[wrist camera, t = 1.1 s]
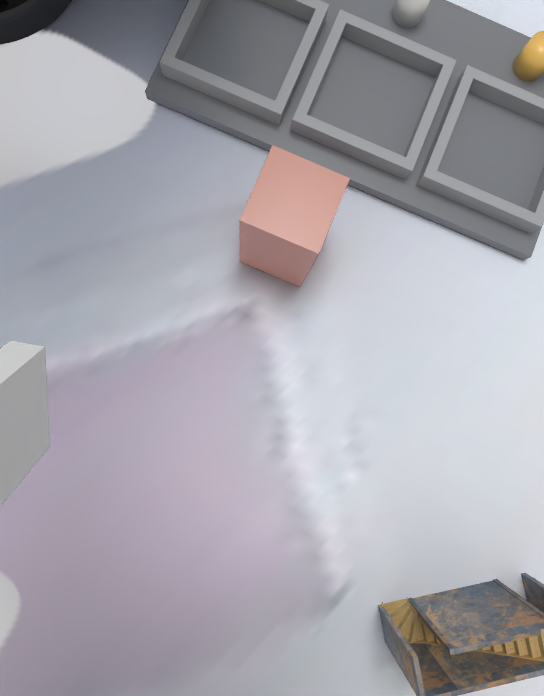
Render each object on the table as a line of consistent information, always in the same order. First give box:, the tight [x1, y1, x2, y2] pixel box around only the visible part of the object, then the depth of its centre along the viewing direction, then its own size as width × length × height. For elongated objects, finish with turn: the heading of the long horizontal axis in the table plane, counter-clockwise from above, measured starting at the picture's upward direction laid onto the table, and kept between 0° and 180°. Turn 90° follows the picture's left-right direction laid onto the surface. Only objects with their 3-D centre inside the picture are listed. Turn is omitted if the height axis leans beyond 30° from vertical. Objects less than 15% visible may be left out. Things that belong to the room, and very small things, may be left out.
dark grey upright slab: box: [378, 573, 544, 696], centre depth 32 cm, size 11×3×10 cm, turn 100°
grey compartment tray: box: [145, 0, 544, 260], centre depth 38 cm, size 32×17×3 cm, turn 68°
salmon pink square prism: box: [240, 145, 350, 287], centre depth 34 cm, size 5×5×9 cm
